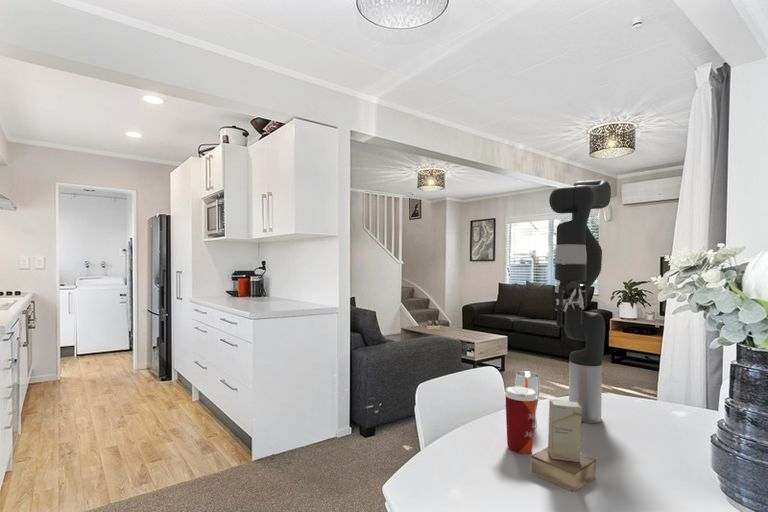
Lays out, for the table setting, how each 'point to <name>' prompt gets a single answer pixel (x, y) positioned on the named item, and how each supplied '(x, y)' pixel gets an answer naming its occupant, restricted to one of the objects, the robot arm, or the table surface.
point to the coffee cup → (520, 418)
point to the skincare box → (564, 430)
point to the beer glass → (529, 385)
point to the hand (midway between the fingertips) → (569, 324)
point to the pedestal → (563, 470)
